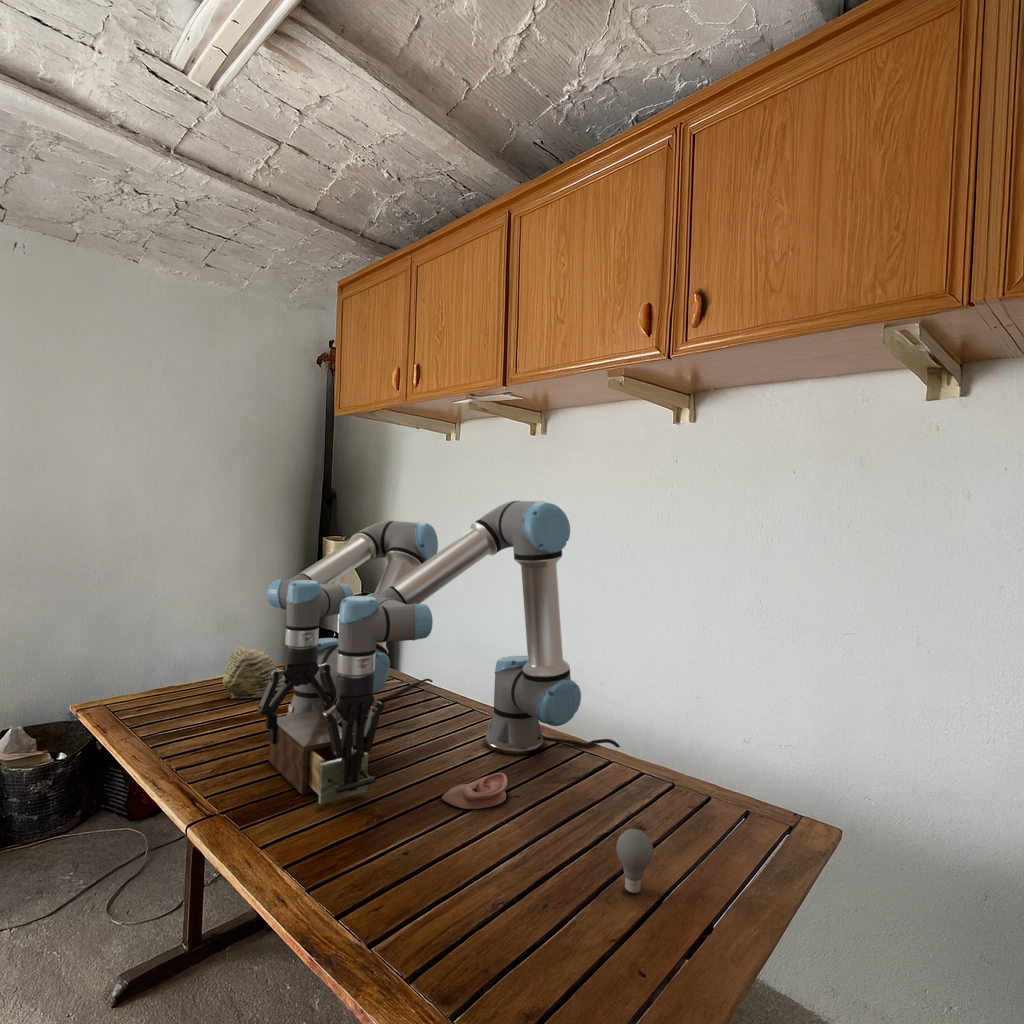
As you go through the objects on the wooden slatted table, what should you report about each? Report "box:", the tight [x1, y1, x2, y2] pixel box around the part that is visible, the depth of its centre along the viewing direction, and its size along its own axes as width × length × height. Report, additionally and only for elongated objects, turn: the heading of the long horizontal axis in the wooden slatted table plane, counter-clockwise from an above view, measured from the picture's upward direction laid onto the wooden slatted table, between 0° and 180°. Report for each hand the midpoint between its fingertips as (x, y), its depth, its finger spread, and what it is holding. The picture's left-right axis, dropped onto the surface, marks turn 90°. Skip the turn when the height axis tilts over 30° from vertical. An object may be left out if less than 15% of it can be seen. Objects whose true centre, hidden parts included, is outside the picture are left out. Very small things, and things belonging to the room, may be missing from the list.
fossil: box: [222, 646, 285, 699], centre depth 198 cm, size 9×18×15 cm, turn 132°
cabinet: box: [268, 710, 353, 796], centre depth 146 cm, size 21×11×10 cm, turn 40°
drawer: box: [307, 746, 376, 806], centre depth 137 cm, size 25×10×8 cm, turn 40°
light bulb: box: [615, 828, 654, 894], centre depth 106 cm, size 6×6×10 cm
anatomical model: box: [441, 772, 508, 810], centre depth 136 cm, size 13×4×12 cm
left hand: (298, 736), depth 151 cm, fingers closed on cabinet, 11 cm apart
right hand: (350, 787), depth 129 cm, fingers closed
